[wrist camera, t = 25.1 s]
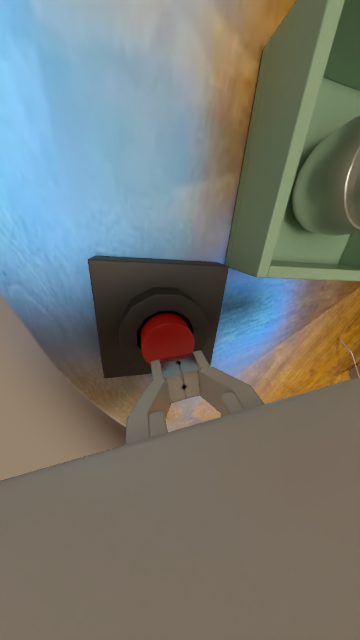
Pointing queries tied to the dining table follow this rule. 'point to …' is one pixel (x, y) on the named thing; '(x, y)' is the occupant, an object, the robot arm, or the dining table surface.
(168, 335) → the button
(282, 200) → the tray
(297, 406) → the robot arm
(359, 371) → the sunglasses
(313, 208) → the metal bottle
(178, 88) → the dining table surface
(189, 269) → the block
